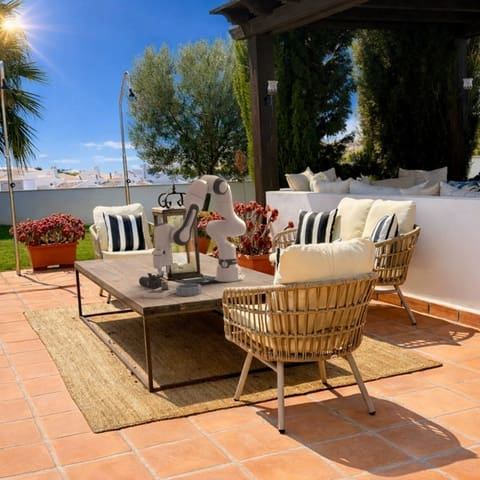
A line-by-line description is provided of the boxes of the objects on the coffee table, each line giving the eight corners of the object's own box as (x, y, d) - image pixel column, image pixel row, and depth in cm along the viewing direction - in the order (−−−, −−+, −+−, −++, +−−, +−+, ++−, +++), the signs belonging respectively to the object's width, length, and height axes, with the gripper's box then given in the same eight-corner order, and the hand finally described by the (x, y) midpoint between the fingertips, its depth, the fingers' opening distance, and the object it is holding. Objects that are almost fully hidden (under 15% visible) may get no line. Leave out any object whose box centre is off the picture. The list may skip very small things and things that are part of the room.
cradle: (160, 290, 378) (159, 285, 377) (178, 290, 374) (178, 285, 374) (144, 297, 358) (144, 292, 358) (163, 297, 354) (163, 292, 354)
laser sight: (149, 284, 401) (148, 269, 400) (170, 288, 384) (169, 272, 383) (136, 286, 394) (135, 271, 393) (157, 290, 378) (156, 274, 377)
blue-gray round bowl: (182, 291, 372) (182, 283, 372) (204, 291, 368) (203, 283, 367) (172, 295, 359) (172, 288, 358) (195, 296, 355) (195, 288, 354)
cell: (163, 291, 373) (162, 279, 372) (169, 291, 371) (168, 279, 371) (160, 293, 369) (159, 280, 368) (166, 293, 368) (166, 281, 367)
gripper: (165, 248, 378) (166, 271, 379) (150, 252, 358) (151, 276, 360) (174, 248, 376) (176, 271, 377) (160, 252, 356) (162, 276, 358)
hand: (164, 274), depth 368 cm, fingers open, 8 cm apart
